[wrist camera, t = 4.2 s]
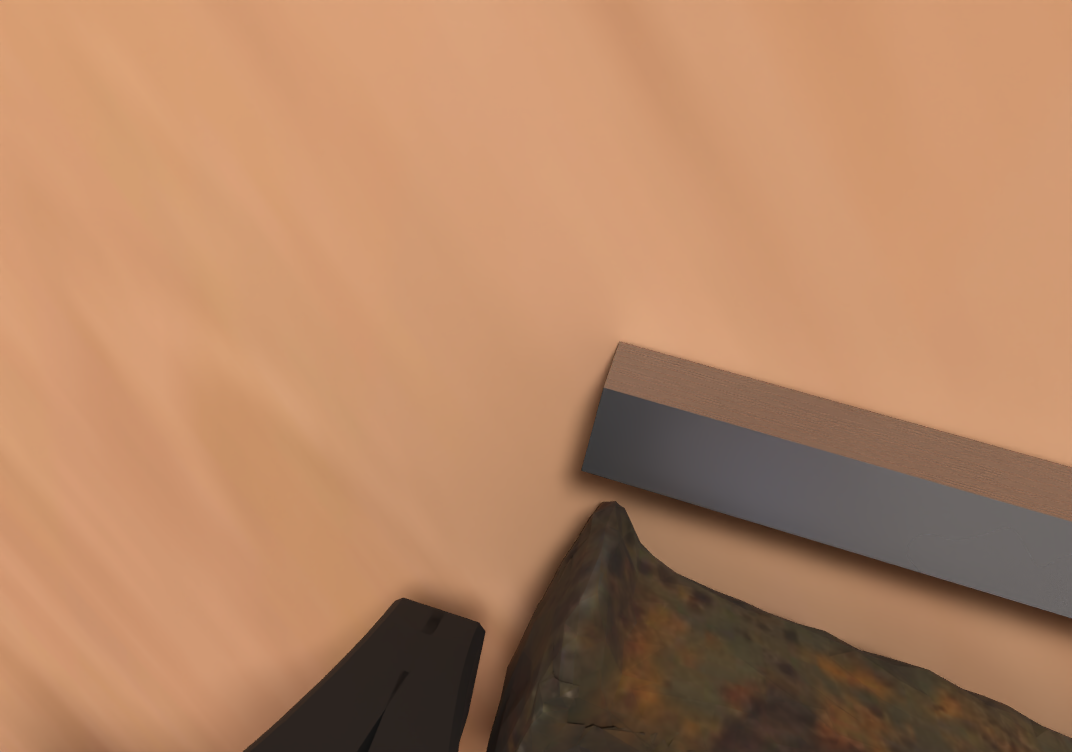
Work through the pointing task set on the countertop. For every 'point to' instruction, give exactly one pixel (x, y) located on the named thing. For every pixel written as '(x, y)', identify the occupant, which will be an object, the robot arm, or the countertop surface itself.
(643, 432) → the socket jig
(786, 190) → the countertop surface
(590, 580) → the dark brown log
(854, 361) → the countertop surface
